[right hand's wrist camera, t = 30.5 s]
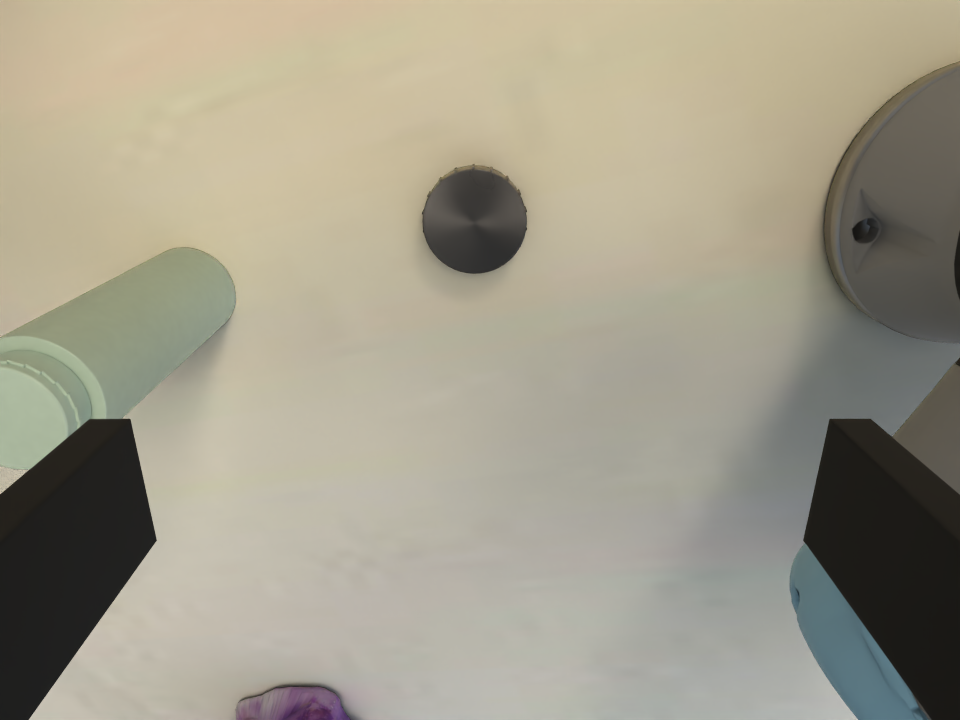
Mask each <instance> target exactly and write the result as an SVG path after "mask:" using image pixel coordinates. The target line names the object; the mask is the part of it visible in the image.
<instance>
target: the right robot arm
mask: <svg viewBox="0 0 960 720" xmlns="http://www.w3.org/2000/svg"><path fill="white" fill-rule="evenodd" d="M824 236H825V246H826V253H827V257H828V261H829V264H830V267H831V270H832V273H833V275H834V277H835V279H836V281H837V283H838V285H839V286H840V288H841V289H842V291H843V292H844V294H845V295H846V296H847V297H848V298H849V300H850V301H851V302H852V303H853V304H854V305H855V306H856V307H858V308H859V309H860V310H861V311H863V312H864V313H865V314H867V315H868V316H870V317H871V318H873V319H875V320H876V321H878V322H880V323H882V324H883V325H885V326H887V327H889V328H890V329H892V330H894V331H897V332H899V333H901V334H904V335H907V336H910V337H913V338H917V339H923V340H928V341H935V342H946V343H958V344H960V62H957V63H954V64H950V65H948V66H945V67H943V68H940V69H938V70H936V71H934V72H932V73H930V74H928V75H926V76H924V77H922V78H920V79H919V80H917V81H915V82H914V83H912V84H911V85H909V86H907V87H906V88H905V89H903V90H902V91H901V92H899V93H898V94H897V95H895V96H894V97H893V98H892V99H891V100H889V101H888V102H887V103H886V104H885V105H884V106H883V107H882V108H881V109H880V110H879V111H878V112H877V113H876V114H875V115H874V116H873V117H872V118H871V119H870V120H869V121H868V122H867V124H866V125H865V126H864V127H863V129H862V130H861V131H860V132H859V134H858V135H857V137H856V138H855V139H854V141H853V142H852V144H851V145H850V147H849V149H848V151H847V152H846V154H845V156H844V157H843V159H842V162H841V164H840V166H839V168H838V170H837V172H836V175H835V178H834V180H833V183H832V186H831V189H830V193H829V196H828V201H827V206H826V212H825V223H824ZM955 363H956V364H955ZM955 363H954V364H953V365H952V367H951V368H950V369H949V370H948V371H947V373H946V374H945V375H944V376H943V378H942V379H941V380H940V381H939V382H938V384H937V385H936V386H935V387H934V389H933V390H932V391H931V392H930V393H929V395H928V396H927V397H926V398H925V399H924V400H923V402H922V403H921V404H920V405H919V406H918V407H917V409H916V410H915V411H914V412H913V413H912V414H911V416H910V417H909V418H908V419H907V420H906V421H905V423H904V424H903V425H902V426H901V427H900V428H899V430H898V431H897V432H896V433H895V434H894V435H893V437H891V436H890V435H889V434H888V433H887V432H885V431H884V430H883V429H882V428H881V427H880V426H878V425H877V424H876V423H875V422H874V421H872V420H871V419H830V420H829V425H828V429H827V434H826V438H825V443H824V448H823V452H822V457H821V461H820V466H819V471H818V475H817V480H816V484H815V489H814V494H813V498H812V503H811V507H810V512H809V517H808V521H807V526H806V530H805V535H804V540H803V541H804V542H805V544H804V545H803V546H802V548H801V549H800V550H799V552H798V554H797V555H796V557H795V559H794V562H793V564H792V568H791V573H790V593H791V598H792V604H793V607H794V609H795V611H796V614H797V620H798V623H799V627H800V629H801V632H802V634H803V636H804V638H805V640H806V642H807V644H808V646H809V648H810V650H811V652H812V654H813V656H814V657H815V659H816V661H817V662H818V664H819V666H820V667H821V669H822V671H823V672H824V674H825V675H826V677H827V678H828V680H829V681H830V683H831V684H832V686H833V687H834V689H835V690H836V691H837V693H838V694H839V695H840V697H841V698H842V700H843V701H844V702H845V704H846V705H847V706H848V707H849V709H850V710H851V711H852V712H853V714H854V715H855V716H856V717H857V719H858V720H960V358H959V359H958V361H957V362H955ZM156 541H157V540H156V535H155V530H154V526H153V521H152V517H151V512H150V507H149V503H148V498H147V494H146V489H145V484H144V480H143V475H142V471H141V466H140V461H139V457H138V452H137V448H136V443H135V438H134V434H133V429H132V425H131V420H130V419H89V420H88V421H86V422H85V423H84V424H83V425H82V426H80V427H79V428H78V429H77V430H76V431H75V432H73V433H72V434H71V435H70V436H69V437H68V438H66V439H65V440H64V441H63V442H62V443H60V444H59V445H58V446H57V447H56V448H55V449H53V450H52V451H51V452H50V453H49V454H47V455H46V456H45V457H44V458H43V459H42V460H40V461H39V462H38V463H37V464H36V465H34V466H33V467H32V468H31V469H30V470H29V471H27V472H26V473H25V474H24V475H23V476H22V477H20V478H19V479H18V480H17V481H16V482H14V483H13V484H12V485H11V486H10V487H9V488H7V489H6V490H5V491H4V492H3V493H1V494H0V720H29V718H30V717H31V716H32V714H33V713H34V711H35V710H36V709H37V707H38V706H39V704H40V703H41V702H42V700H43V699H44V697H45V696H46V695H47V693H48V692H49V690H50V689H51V688H52V686H53V685H54V683H55V682H56V681H57V679H58V678H59V676H60V675H61V674H62V672H63V671H64V669H65V668H66V667H67V665H68V664H69V662H70V661H71V660H72V658H73V657H74V655H75V654H76V653H77V651H78V650H79V648H80V647H81V646H82V644H83V643H84V641H85V640H86V639H87V637H88V636H89V634H90V633H91V632H92V630H93V629H94V627H95V626H96V625H97V623H98V622H99V620H100V619H101V618H102V616H103V615H104V613H105V612H106V611H107V609H108V608H109V606H110V605H111V604H112V602H113V601H114V599H115V598H116V597H117V595H118V594H119V592H120V591H121V590H122V588H123V587H124V585H125V584H126V583H127V581H128V580H129V578H130V577H131V576H132V574H133V573H134V571H135V570H136V569H137V567H138V566H139V564H140V563H141V562H142V560H143V559H144V557H145V556H146V555H147V553H148V552H149V550H150V549H151V548H152V546H153V545H154V543H155V542H156Z"/></svg>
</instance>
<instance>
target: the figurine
mask: <svg viewBox="0 0 960 720" xmlns="http://www.w3.org/2000/svg"><path fill="white" fill-rule="evenodd" d="M236 719H237V720H351V719H350V718H349V717H348V716H347V715H346V713H345V712H344V710H343V708H342V706H341V703H340V700H339V698H338V697H337V695H336V694H335V693H333V692H331V691H329V690H327V689H326V688H323V687H283V688H275V689H273V690H271V691H269V692H267V693H265V694H263V695H261V696H257V697H252V698H247V699H245V700H242V701H240V702H239V703H238V704H237V707H236Z"/></svg>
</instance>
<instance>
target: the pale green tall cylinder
mask: <svg viewBox="0 0 960 720" xmlns="http://www.w3.org/2000/svg"><path fill="white" fill-rule="evenodd" d="M235 300H236V296H235V288H234V285H233V281H232V279H231V277H230V275H229V274H228V272H227V270H226V269H225V268H224V267H223V265H222V264H221V263H219V262H218V261H217V260H216V259H215V258H213V257H212V256H210V255H209V254H207V253H205V252H203V251H200V250H197V249H192V248H174V249H171V250H168V251H165V252H163V253H161V254H160V255H158V256H156V257H154V258H152V259H150V260H148V261H146V262H144V263H142V264H140V265H138V266H136V267H135V268H133V269H131V270H129V271H127V272H125V273H123V274H121V275H119V276H117V277H115V278H113V279H111V280H110V281H108V282H106V283H104V284H102V285H100V286H98V287H96V288H94V289H92V290H90V291H88V292H86V293H84V294H83V295H81V296H79V297H77V298H75V299H73V300H71V301H69V302H67V303H65V304H63V305H61V306H59V307H58V308H56V309H54V310H52V311H50V312H48V313H46V314H44V315H42V316H40V317H38V318H36V319H34V320H33V321H31V322H29V323H27V324H25V325H23V326H21V327H19V328H17V329H15V330H13V331H11V332H9V333H8V334H6V335H4V336H2V337H0V466H2V467H6V468H11V469H19V470H27V469H31V468H32V467H33V466H34V465H36V464H37V463H38V462H39V461H40V460H42V459H43V458H44V457H45V456H46V455H47V454H49V453H50V452H51V451H52V450H53V449H55V448H56V447H57V446H58V445H59V444H60V443H62V442H63V441H64V440H65V439H66V438H68V437H69V436H70V435H71V434H72V433H73V432H75V431H76V430H77V429H78V428H79V427H80V426H82V425H83V424H84V423H85V422H86V421H88V420H89V419H122V418H123V417H124V416H125V415H126V414H127V413H128V412H129V411H130V410H131V409H133V408H134V407H135V406H136V405H137V404H138V403H139V402H140V401H141V400H142V399H143V398H144V397H146V396H147V395H148V394H149V393H150V392H151V391H152V390H153V389H154V388H155V387H156V386H157V385H159V384H160V383H161V382H162V381H163V380H164V379H165V378H166V377H167V376H168V375H169V374H170V373H172V372H173V371H174V370H175V369H176V368H177V367H178V366H179V365H180V364H181V363H182V362H183V361H185V360H186V359H187V358H188V357H189V356H190V355H191V354H192V353H193V352H194V351H195V350H196V349H198V348H199V347H200V346H201V345H202V344H203V343H204V342H205V341H206V340H207V339H208V338H209V337H211V336H212V335H213V334H214V333H215V332H216V331H217V330H218V329H219V328H220V327H221V326H222V325H224V324H225V323H226V322H227V320H228V319H229V318H230V316H231V314H232V312H233V310H234V306H235Z"/></svg>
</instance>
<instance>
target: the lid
mask: <svg viewBox="0 0 960 720" xmlns="http://www.w3.org/2000/svg"><path fill="white" fill-rule="evenodd" d="M520 195H521V193H520V190H519V189H518V190H517V188H516V187H515V185H514V184H513V183H512V182H511V181H510V180H509V178H508V176H505V175H503V174H502V173H500V172H498V171H496V170H494V169H493V167H490V168H489V167H485V166H477V165H475V164H473V166H465V167H461V168H458V169H457V167H456V168H455V169H454V170H453V171H451V172H449V173H448V174H446V175H445V176H444V177H443V178H442V177H440V179H439V181H438V183H437V184H436V185H435V186H434V188H433V189H432V191H430V192H429V194H428V196H427V197H428V199H427V202H426V205H425V208H424V210H423V212H422V214H423V233H424V235H425V238H426V241H427V243H428V245H429V247H430V249H431V250H432V252H433V253H434V254H435V255H436V257H437V258H438V259H439V260H440V261H442V262H443V263H444V264H446V265H447V266H449V267H451V268H453V269H455V270H457V271H460V272H465V273H473V274H476V273H485V272H489V271H492V270H495V269H497V268H499V267H501V266H502V265H504V264H505V263H507V262H508V261H509V260H510V259H511V258H512V257H513V256H514V255H515V254H516V252H517V251H518V250H519V248H520V247H521V244H522V242H523V239H524V236H525V232H526V230H527V227H526V225H527V218H526V212H527V210H526V207H525V206H524V204H523V201H522V198H521V196H520Z"/></svg>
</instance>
